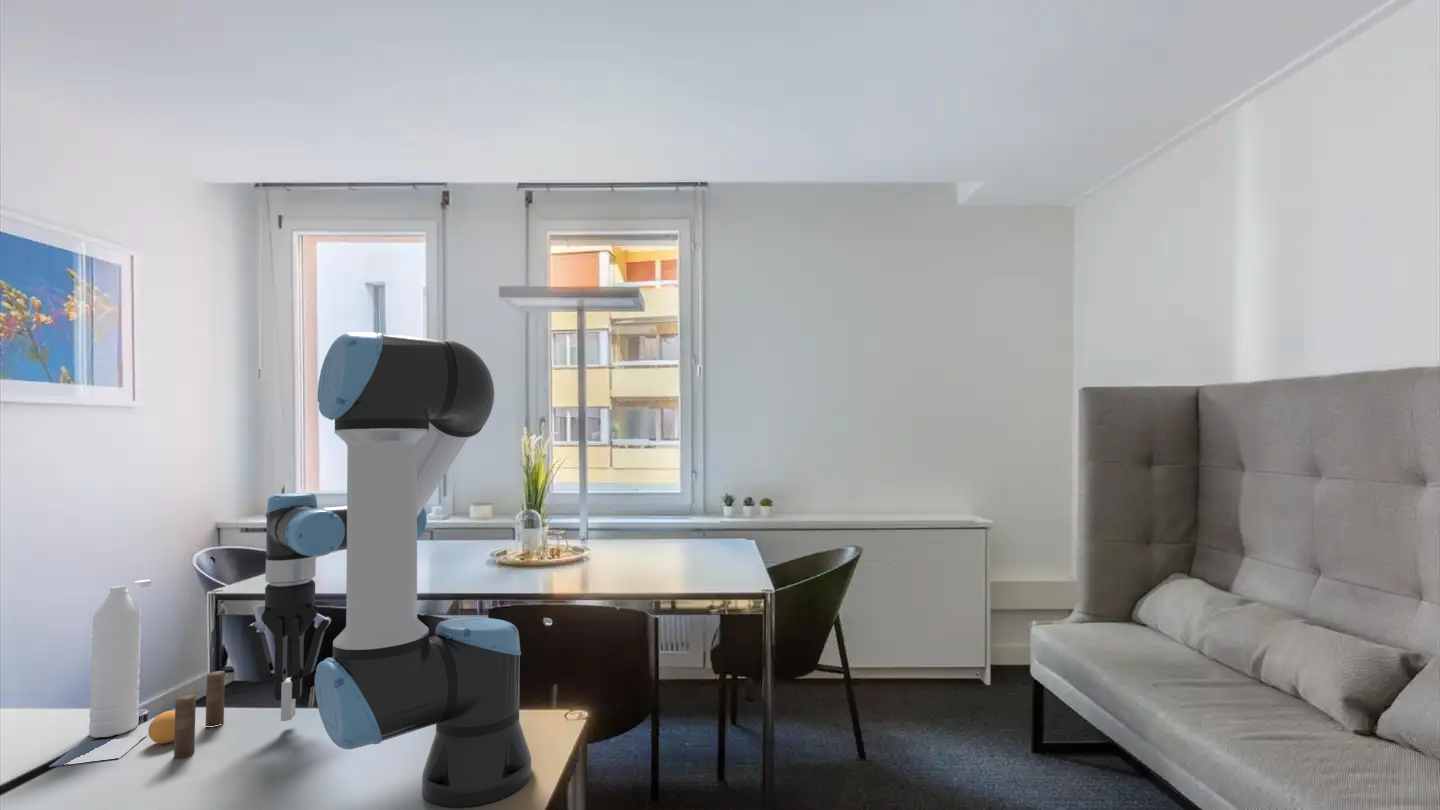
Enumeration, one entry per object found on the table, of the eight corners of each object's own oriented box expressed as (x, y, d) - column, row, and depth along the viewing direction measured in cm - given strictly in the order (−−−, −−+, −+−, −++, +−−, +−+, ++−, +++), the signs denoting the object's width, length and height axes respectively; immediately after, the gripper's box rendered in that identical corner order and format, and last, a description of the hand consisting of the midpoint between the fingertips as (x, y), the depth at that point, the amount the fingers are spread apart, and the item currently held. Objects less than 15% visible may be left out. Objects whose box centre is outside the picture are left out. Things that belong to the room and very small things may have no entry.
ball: (173, 712, 114) (138, 723, 113) (180, 742, 114) (145, 753, 112) (188, 702, 119) (155, 712, 117) (195, 730, 119) (161, 740, 117)
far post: (220, 726, 121) (221, 674, 122) (203, 728, 121) (204, 676, 121) (226, 721, 124) (227, 670, 124) (209, 723, 123) (210, 671, 124)
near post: (190, 757, 110) (191, 699, 110) (170, 759, 109) (172, 701, 110) (197, 750, 112) (198, 693, 113) (178, 752, 112) (179, 695, 112)
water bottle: (109, 739, 117) (114, 590, 118) (78, 737, 118) (83, 589, 119) (160, 719, 125) (164, 580, 126) (130, 716, 126) (134, 579, 128)
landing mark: (119, 758, 109) (119, 757, 109) (48, 767, 107) (48, 766, 107) (147, 735, 118) (147, 734, 118) (82, 743, 115) (82, 741, 115)
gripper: (337, 574, 127) (334, 705, 126) (255, 579, 123) (252, 714, 122) (326, 582, 120) (324, 721, 119) (240, 588, 116) (236, 731, 115)
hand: (288, 717), depth 120 cm, fingers closed
